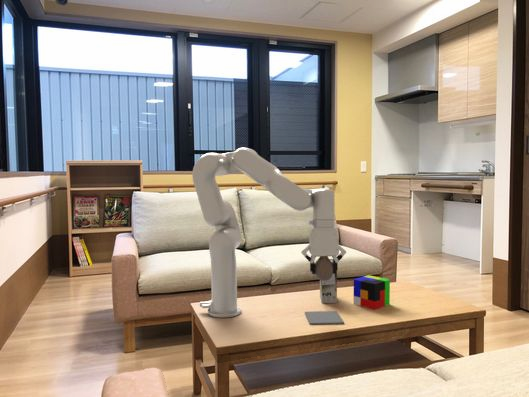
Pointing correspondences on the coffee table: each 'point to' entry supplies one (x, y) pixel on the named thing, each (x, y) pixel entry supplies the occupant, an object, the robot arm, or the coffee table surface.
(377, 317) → the coffee table surface
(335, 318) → the mat
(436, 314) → the coffee table surface
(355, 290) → the puzzle toy
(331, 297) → the coffee box
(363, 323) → the coffee table surface
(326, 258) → the vase
